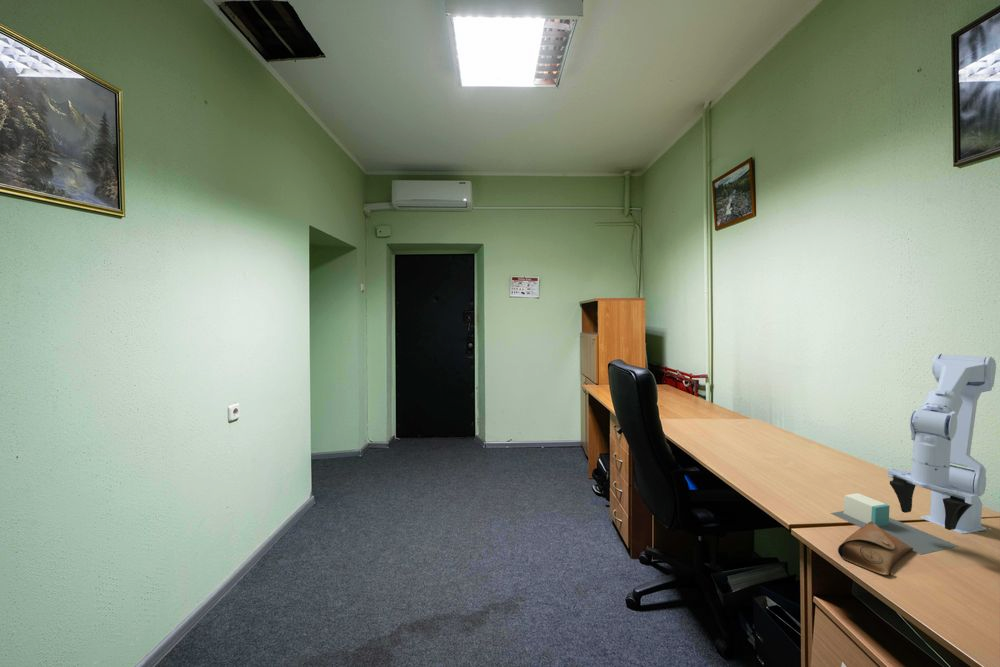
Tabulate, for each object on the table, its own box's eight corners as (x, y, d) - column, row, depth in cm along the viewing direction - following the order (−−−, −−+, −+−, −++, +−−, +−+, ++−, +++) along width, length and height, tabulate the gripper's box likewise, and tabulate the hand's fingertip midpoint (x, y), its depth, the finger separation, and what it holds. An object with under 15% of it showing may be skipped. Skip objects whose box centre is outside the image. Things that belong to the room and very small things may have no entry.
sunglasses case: (890, 576, 77) (868, 541, 80) (851, 577, 82) (832, 543, 85) (915, 548, 86) (895, 516, 89) (878, 549, 92) (860, 520, 94)
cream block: (888, 524, 97) (856, 510, 104) (889, 505, 97) (857, 493, 104) (874, 527, 96) (843, 513, 103) (875, 507, 96) (844, 495, 103)
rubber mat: (864, 508, 106) (864, 507, 106) (958, 547, 88) (958, 546, 88) (830, 514, 103) (830, 513, 103) (920, 556, 85) (920, 554, 85)
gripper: (880, 453, 94) (877, 506, 94) (963, 477, 80) (960, 539, 80) (900, 450, 96) (897, 503, 96) (985, 473, 81) (981, 535, 82)
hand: (927, 519), depth 88 cm, fingers open, 7 cm apart
